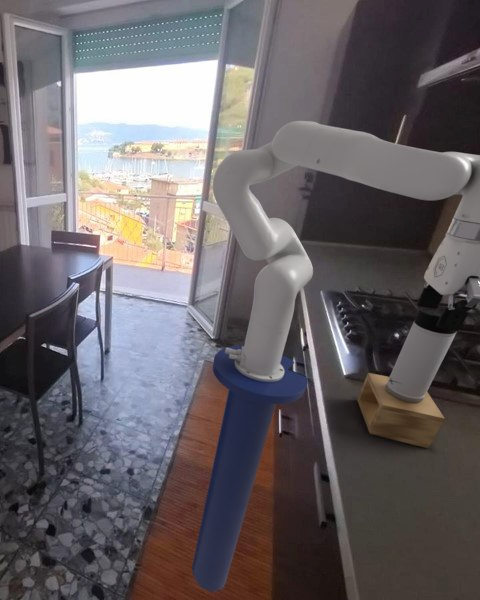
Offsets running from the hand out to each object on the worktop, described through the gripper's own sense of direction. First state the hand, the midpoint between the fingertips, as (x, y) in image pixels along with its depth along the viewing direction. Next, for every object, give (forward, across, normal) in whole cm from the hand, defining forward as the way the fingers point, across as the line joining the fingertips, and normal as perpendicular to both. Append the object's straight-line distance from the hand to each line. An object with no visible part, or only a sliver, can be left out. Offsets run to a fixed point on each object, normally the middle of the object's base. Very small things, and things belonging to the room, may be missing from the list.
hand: (436, 317), depth 69 cm
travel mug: (+19, 0, 0) cm, 19 cm away
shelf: (+27, 0, +1) cm, 27 cm away
